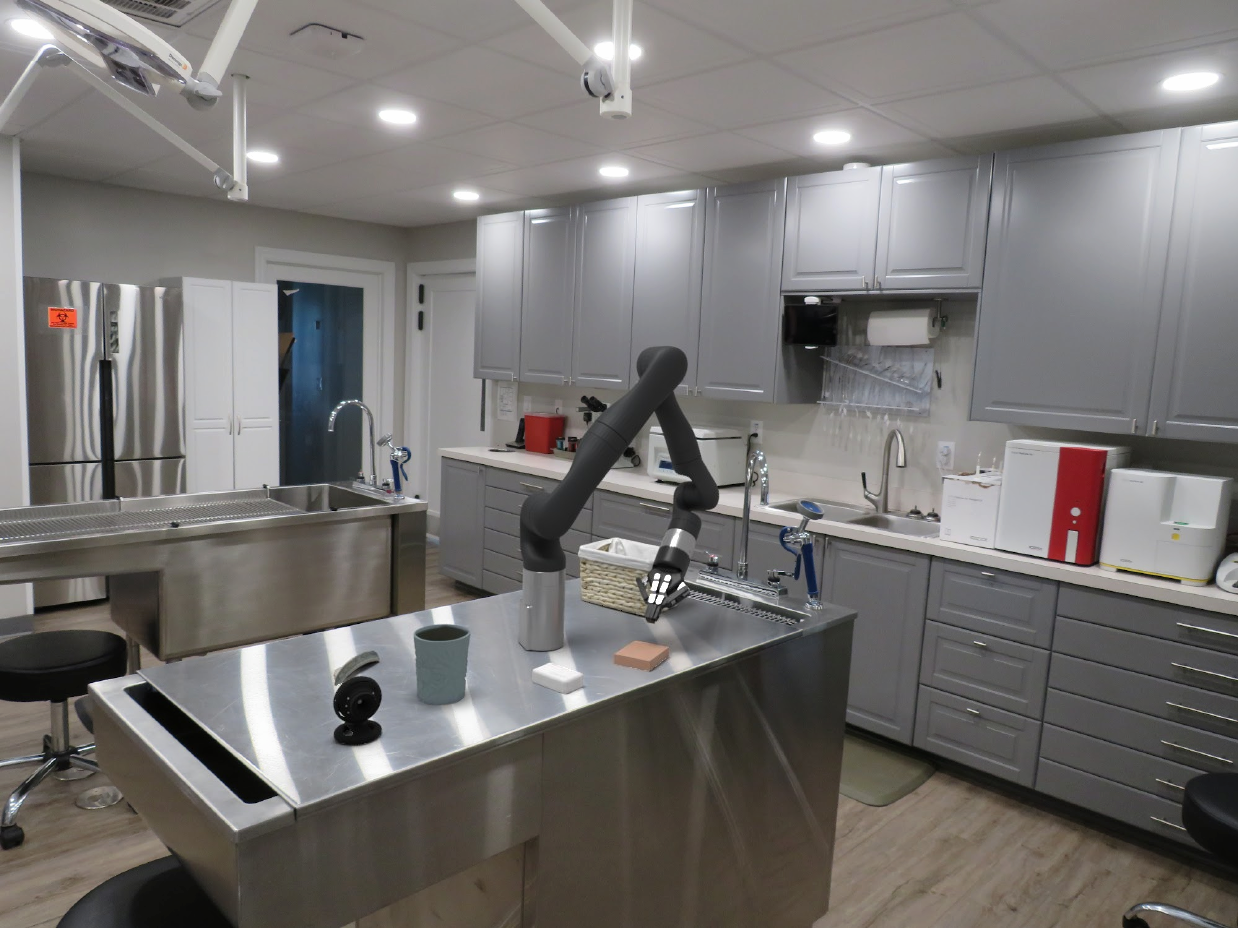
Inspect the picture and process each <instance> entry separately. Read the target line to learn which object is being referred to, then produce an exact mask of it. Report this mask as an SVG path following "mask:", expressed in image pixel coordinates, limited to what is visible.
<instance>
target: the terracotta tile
mask: <svg viewBox="0 0 1238 928" xmlns="http://www.w3.org/2000/svg"><path fill="white" fill-rule="evenodd" d="M668 656H669V657H670V647H669V646H666V645H660V644H655V643H652V642H645V641H640V640H636V639H635V640H634V641H632V642H630V643H629V644H627V645H625V646H624V647H622V648H621V649H619V650H618V651H616V652H615V653H614V655H613V664H614V665H617V666H620V665H622V666H621V667H625V668H629V667H632V668H631V669H634V668H637V669H636V670H639V669H640V670H639V671H643V670H647V671H646V672H648V671H650V670H651V671H652V670H654V669H655V668H656V667H657V666H656V665H658V664H659V663H660V662H661V663H663V662H662V660H664V659H665V658H667V657H668ZM669 657H668V658H669ZM668 658H667V659H668ZM665 660H666V659H665ZM665 660H664V661H665ZM661 663H660V664H661ZM660 664H659V665H660ZM659 665H658V666H659ZM655 666H656V667H655ZM654 667H655V668H654ZM653 668H654V669H653ZM651 671H650V672H651Z"/></svg>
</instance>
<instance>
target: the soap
mask: <svg viewBox="0 0 1238 928" xmlns="http://www.w3.org/2000/svg"><path fill="white" fill-rule="evenodd" d="M531 672H532V675H531V676H532V677H531V678H532V679H531V680H532V681H531V682H532V683H533V684H536V685H539V686H542V687H544V688H547V689H550V690H552V691H555V692H558V693H560V694H563V695H567V694H569V693H572V692H574V691H576V690H579V689H581V688H583V686H584V674H583V673H582V672H579V671H576V670H573V669H570V668H567V667H564V666H563V665H559V664H556V663H554V662H547V663H545V664H544V665H541V666H538V667H536V668H535V667H534V668H533V670H532V671H531Z"/></svg>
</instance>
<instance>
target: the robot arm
mask: <svg viewBox="0 0 1238 928" xmlns="http://www.w3.org/2000/svg"><path fill="white" fill-rule="evenodd" d="M688 363H689V362H688V358H687V355H686V353H685V352H684V351H683V350H682V349H681V348H679V347H675V346H671V345H662V346H661V345H660V346H658V345H657V346H649V347H647V348H645V349H643V350H642V351H641V352H640V353H639V355H638V358H637V359H636V365H635V367H636V373H637V375H638V377H639V379H638V381H637V383H636V384H635V385H634V386H633V387H632V388H631V389H630V390H629V391H628V392H627V393H626V394H624V395H623V396H622V397H621V398H619V399H618V400H617V401H615V402H614V403H613V404H611V405H610V406H608V407H607V408H606V409H605V410H604V411H602V413H601V414H600V415H599V416H598V417H597V418H596V419H595V420H594V421H593V423H592V424H591V426H590V427H589V428H588V430H586V432H585V433H584V434H583V436H582V437H581V439H580V441H579V443H578V445H577V448H576V451H575V453H574V457H573V458H572V459H573V460H572V463H571V465H570V468H569V469H568V472H566V475H565V476H564V478H563V479H562V480H561V482H559V483H558V485H557V486H556V487H555V488H554V489H553V491H552V492H551V493H550V492H545V491H536V492H533V493H531V494H530V495H528V496H527V497H526V498H525V499H524V501H523V503H522V505H521V509H520V514H519V545H520V546H519V549H520V554H521V557H522V595H521V596H522V597H521V599H519V601H518V602H519V603H518V641H517V642H518V643H519V644H520V645H521V647H523V649H525V651H537V652H538V651H541V652H543V651H544V652H547V651H554V650H558V649H561V648H562V647H563V646H564V642H565V641H564V640H565V613H566V612H565V611H566V609H565V608H566V607H565V606H566V576H567V575H566V572H567V571H566V570H567V557H566V556H567V555H566V554H565V552H564V550H563V548H562V544H561V540H560V538H562V537H563V536H565V534H567V532H568V531H569V530H570V529H571V527H572V526H573V525H574V523H575V521H576V520H577V518H578V517H579V515H580V514H581V511H582V510H583V509H584V507H585V505H586V504H587V502H588V501H589V499H590V497H591V496H592V494H593V493H594V491H595V490H596V489H597V488H598V486H599V485H600V483H602V481H603V480H604V478H605V477H606V476H607V475H608V473H609V472H610V471H611V469H612V468H613V467H614V465H615V464H616V463H617V462H618V461H619V460H620V458H621V457H622V455H623V454H624V453H625V451H626V450H627V449H628V448H629V447H630V445H631V444H632V443H633V440H635V438H636V436H637V435H638V434H639V433H640V431H641V430H642V428H644V426H645V424H646V423H647V422H648V421H649V420H650V418H651V417H652V415H653V414H654V413H655V416H656V418H657V419H656V420H657V421H658V424H659V425H660V426H659V427H660V429H661V431H662V435H663V437H664V441H665V444H666V447H667V451H668V455H669V458H670V461H671V465H672V469H673V471H674V472H675V474H676V475H678V476H679V475H680V476H683V477H688V478H689V479H690V480H688V481H683V482H680V483H679V484H678V485H677V486H676V487H675V490H674V491H673V498H672V500H673V501H672V513H671V519H670V522H669V524H668V527H667V530H666V532H665V534H664V536H663V538H662V540H661V543H660V545H659V546H660V547H659V550H658V552H657V555H656V558H655V560H654V563H653V566H652V569H651V571H650V572H649V573H648V574H647V576H646V577H644V578H642V579H641V578H640V577H638V578H636V583H637V585H638V588H639V590H640V593H641V595H642V598H643V600H644V602H645V604H648V606H647V609H646V612H645V616H644V618H645V621H646V623H648V624H651V625H652V624H653V625H655V623H656V622H658V621H659V619H660V617H661V614H662V612H663V611H662V609H664V608H669V609H668V610H670V608H671V609H673V608H675V607H676V606H675V605H676V604H678V605H679V603H681V602H682V601H683V600H686V598H688V597H689V596H690V595H691V590H690V588H689V586H688V585H686V584H685V577H686V576H687V572H688V568H689V566H690V563H691V560H692V559H693V556H694V553H695V547H696V543H697V540H698V538H699V535H700V531H701V528H702V524H703V523H702V518H701V517H700V516H699V515H698V514H696V513H694V511H695V512H696V511H698V512H699V511H711V510H713V509H715V508H716V507H717V506H718V503H719V500H720V489H719V487H718V485H717V483H716V482H717V481H715V479H714V478H713V477H714V476H713V475H712V474H711V472H710V470H709V469H708V467H707V465H706V464H705V462H704V460H703V457H702V453H701V450H700V446H699V442H698V440H697V436H696V434H695V432H694V429H693V427H692V426H691V424H690V422H689V420H688V419H687V417H686V415H685V414H684V412H683V410H682V409H681V407H680V405H679V402H678V400H677V397H676V394H675V390H676V388H677V387H678V386H679V385H680V384H681V383H682V382H683V380H684V379H685V377H686V375H687V372H688V368H689V364H688ZM648 582H649V584H650V587H651V594H650V597H649V596H648V594H647V591H646V589H645V588H647V586H648ZM675 591H676V592H675ZM674 606H675V607H674ZM672 607H673V608H672ZM661 611H662V612H661Z"/></svg>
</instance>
